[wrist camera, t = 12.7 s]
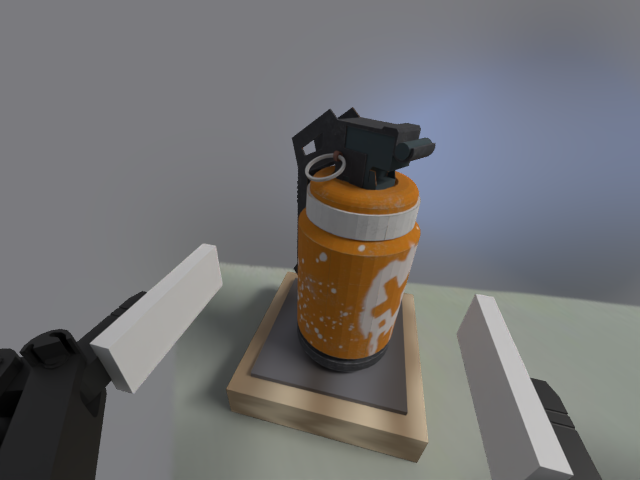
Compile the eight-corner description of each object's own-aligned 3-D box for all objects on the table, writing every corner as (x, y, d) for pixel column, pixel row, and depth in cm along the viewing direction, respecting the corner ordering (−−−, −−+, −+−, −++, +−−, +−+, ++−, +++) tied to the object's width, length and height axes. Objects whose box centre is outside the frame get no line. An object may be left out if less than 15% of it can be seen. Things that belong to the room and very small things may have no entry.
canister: (344, 398, 22) (393, 135, 11) (266, 316, 28) (251, 103, 18) (406, 337, 27) (478, 120, 16) (328, 280, 34) (344, 99, 23)
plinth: (406, 314, 35) (414, 291, 33) (416, 462, 22) (430, 439, 20) (287, 291, 38) (287, 268, 35) (231, 411, 24) (225, 385, 22)
